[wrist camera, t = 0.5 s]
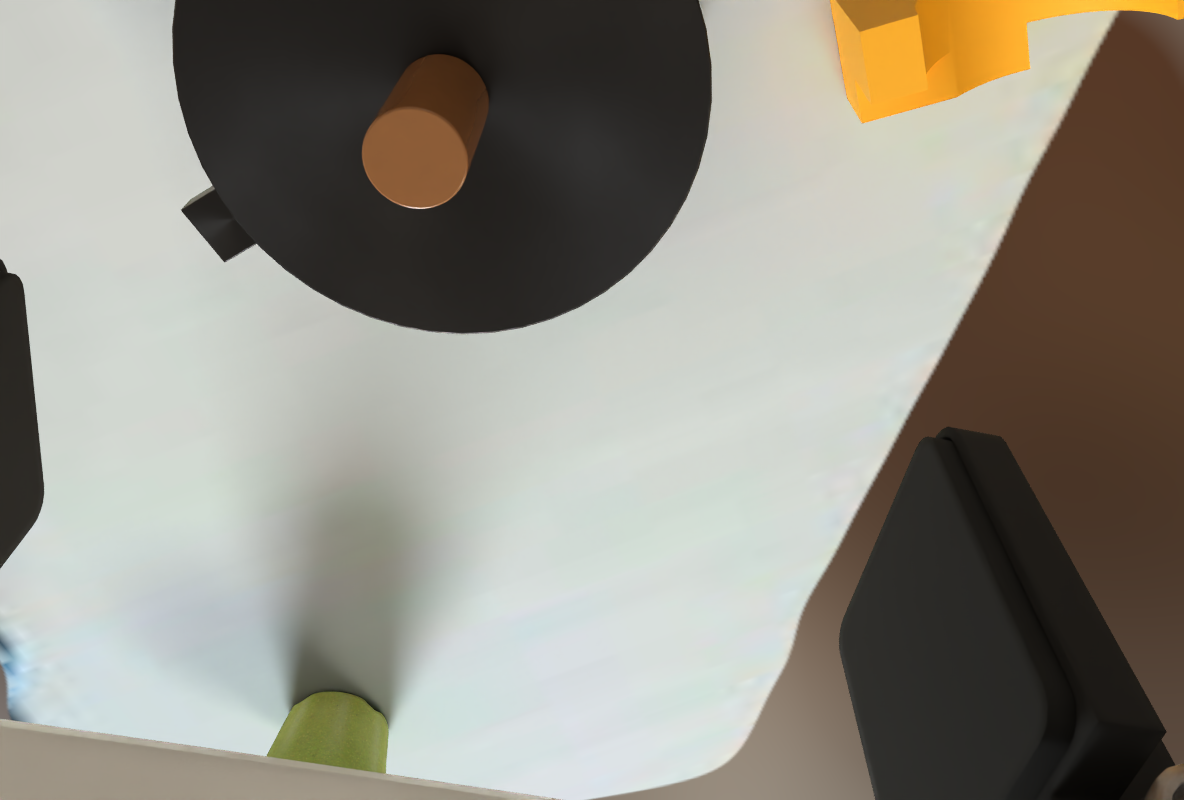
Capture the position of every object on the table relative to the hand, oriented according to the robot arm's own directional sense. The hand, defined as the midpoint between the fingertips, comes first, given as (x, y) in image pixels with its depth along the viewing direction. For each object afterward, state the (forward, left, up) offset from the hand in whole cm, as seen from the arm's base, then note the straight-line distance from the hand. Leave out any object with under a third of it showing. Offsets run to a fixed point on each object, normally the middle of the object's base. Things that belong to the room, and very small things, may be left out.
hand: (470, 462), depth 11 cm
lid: (+1, -6, -26) cm, 26 cm away
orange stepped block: (+10, +12, -34) cm, 38 cm away
